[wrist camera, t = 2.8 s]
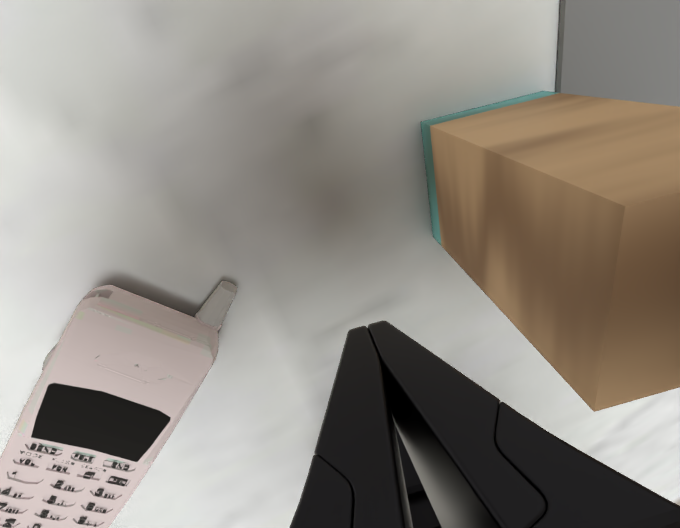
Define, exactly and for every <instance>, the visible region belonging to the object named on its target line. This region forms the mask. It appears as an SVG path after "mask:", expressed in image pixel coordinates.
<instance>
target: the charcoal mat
mask: <svg viewBox="0 0 680 528" xmlns="http://www.w3.org/2000/svg"><path fill="white" fill-rule="evenodd" d="M556 93H564V94H573V95H582V96H591V97H599V98H608V99H617V100H625V101H634V102H643V103H652V104H660V105H669V106H678V107H680V0H560V19H559V38H558V58H557V77H556Z"/></svg>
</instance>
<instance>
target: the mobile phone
mask: <svg viewBox="0 0 680 528" xmlns="http://www.w3.org/2000/svg"><path fill="white" fill-rule="evenodd" d="M236 292H237V287H236V286H235V285H234V284H232V283H230V282H227V281H221V283H220V284H219V285H218V287H217V288H216V289H215V290H214V292H213V293H212V294H211V296H210V297H209V298H208V299H207V301H206V302H205V303H204V305H203V306H202V307H201V309H200V310H199V311H198V312H197V313H196V315H195V316H194V317H192V316H189V315H187V314H184V313H182V312H179V311H177V310H174V309H172V308H169V307H167V306H164V305H161V304H159V303H156V302H154V301H151V300H149V299H146V298H144V297H141V296H138V295H136V294H133V293H131V292H128V291H126V290H123V289H121V288H118V287H116V286H113V285H105V286H100V287H97V288H94V289H92V290H91V291H90V292H89V293H88V294H87V295H86V296H85V297H84V298H83V299H82V301H81V302H80V303H79V304H78V306H77V308H76V309H75V311H74V313H73V315H72V317H71V319H70V321H69V323H68V325H67V327H66V329H65V330H64V332H63V334H62V336H61V338H60V340H59V342H58V343H57V344H56V345H55V347H54V348H53V349H52V350H51V351H50V352H49V354H48V355H47V356H46V358H45V360H44V363H43V369H42V370H43V372H42V374H41V376H40V378H39V380H38V382H37V384H36V386H35V388H34V390H33V391H32V393H31V395H30V397H29V399H28V401H27V403H26V405H25V407H24V408H23V410H22V413H21V415H20V417H19V419H18V422H17V424H16V426H15V428H14V430H13V432H12V434H11V437H10V439H9V441H8V443H7V445H6V447H5V449H4V451H3V453H2V456H1V458H0V528H108V527H109V526H110V525H111V523H112V522H113V520H114V519H115V518H116V516H117V515H118V513H119V512H120V511H121V509H122V508H123V507H124V505H125V504H126V502H127V501H128V500H129V498H130V497H131V495H132V494H133V492H134V491H135V489H136V488H137V486H138V485H139V483H140V482H141V480H142V479H143V477H144V476H145V474H146V473H147V471H148V470H149V468H150V466H151V465H152V463H153V462H154V460H155V459H156V457H157V455H158V454H159V452H160V451H161V449H162V447H163V446H164V444H165V443H166V441H167V440H168V438H169V436H170V435H171V433H172V432H173V430H174V428H175V427H176V425H177V423H178V422H179V420H180V418H181V417H182V415H183V413H184V412H185V410H186V408H187V407H188V405H189V403H190V402H191V400H192V398H193V397H194V395H195V393H196V392H197V390H198V388H199V387H200V385H201V383H202V382H203V380H204V378H205V377H206V375H207V373H208V371H209V370H210V368H211V366H212V365H213V363H214V361H215V359H216V356H217V353H218V341H219V336H218V333H217V332H218V331H219V329H220V328H221V326H222V321H223V320H224V318H225V316H226V314H227V311H228V309H229V307H230V305H231V303H232V301H233V299H234V297H235V295H236Z"/></svg>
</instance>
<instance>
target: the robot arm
mask: <svg viewBox="0 0 680 528" xmlns="http://www.w3.org/2000/svg"><path fill="white" fill-rule="evenodd" d="M290 528H680V506H679V505H677V504H675V503H673V502H671V501H669V500H667V499H665V498H664V497H662V496H660V495H658V494H656V493H655V492H653V491H651V490H649V489H648V488H646V487H644V486H642V485H640V484H639V483H637V482H635V481H633V480H631V479H630V478H628V477H626V476H624V475H623V474H621V473H619V472H617V471H615V470H614V469H612V468H610V467H608V466H606V465H605V464H603V463H601V462H599V461H598V460H596V459H594V458H592V457H590V456H589V455H587V454H585V453H583V452H582V451H580V450H578V449H576V448H575V447H573V446H571V445H569V444H568V443H566V442H564V441H563V440H561V439H559V438H558V437H556V436H554V435H553V434H551V433H549V432H547V431H546V430H544V429H543V428H541V427H540V426H538V425H537V424H535V423H534V422H532V421H530V420H529V419H527V418H526V417H524V416H523V415H521V414H520V413H518V412H517V411H515V410H514V409H513V408H511V407H510V406H508V405H507V404H505V403H504V402H500V400H499V399H498V398H496V397H495V396H494V395H492V394H491V393H489V392H488V391H486V390H485V389H483V388H482V387H481V386H479V385H478V384H476V383H475V382H473V381H472V380H471V379H469V378H468V377H466V376H465V375H463V374H462V373H460V372H459V371H458V370H456V369H455V368H453V367H452V366H450V365H449V364H447V363H446V362H445V361H443V360H442V359H440V358H439V357H437V356H436V355H434V354H433V353H432V352H430V351H429V350H427V349H426V348H424V347H423V346H421V345H420V344H419V343H417V342H416V341H414V340H413V339H411V338H410V337H408V336H407V335H406V334H404V333H403V332H401V331H400V330H398V329H397V328H395V327H394V326H393V325H391V324H390V323H388V322H387V321H380V322H376V323H372V324H369V325H368V328H367V327H366V326H361V327H357V328H354V329H351V330H349V331H348V334H347V338H346V341H345V345H344V348H343V352H342V355H341V359H340V363H339V366H338V370H337V373H336V377H335V380H334V384H333V388H332V391H331V395H330V398H329V402H328V406H327V409H326V413H325V416H324V420H323V423H322V427H321V431H320V434H319V438H318V441H317V445H316V449H315V455H314V456H313V459H312V462H311V466H310V469H309V473H308V476H307V479H306V483H305V486H304V489H303V492H302V495H301V498H300V502H299V504H298V507H297V510H296V512H295V515H294V517H293V520H292V523H291V525H290Z"/></svg>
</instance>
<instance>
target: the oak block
mask: <svg viewBox="0 0 680 528" xmlns="http://www.w3.org/2000/svg"><path fill="white" fill-rule="evenodd" d="M421 129H422V138H423V147H424V157H425V166H426V176H427V185H428V195H429V204H430V214H431V223H432V232H433V237H434V238H435V239H436V240H437V242H438V243H439V244H440V245H441V246H442V247H443V248H444V249H445V250H446V251H447V252H448V254H449V255H450V256H451V257H452V258H453V259H454V260H455V261H456V262H457V263H458V264H459V265H460V267H461V268H462V269H463V270H464V271H465V272H466V273H467V274H468V275H469V276H470V277H471V279H472V280H473V281H474V282H475V283H476V284H477V285H478V286H479V287H480V288H481V289H482V290H483V292H484V293H485V294H486V295H487V296H488V297H489V298H490V299H491V300H492V301H493V302H494V304H495V305H496V306H497V307H498V308H499V309H500V310H501V311H502V312H503V313H504V314H505V315H506V317H507V318H508V319H509V320H510V321H511V322H512V323H513V324H514V325H515V326H516V327H517V329H518V330H519V331H520V332H521V333H522V334H523V335H524V336H525V337H526V338H527V339H528V340H529V342H530V343H531V344H532V345H533V346H534V347H535V348H536V349H537V350H538V351H539V352H540V354H541V355H542V356H543V357H544V358H545V359H546V360H547V361H548V362H549V363H550V364H551V365H552V367H553V368H554V369H555V370H556V371H557V372H558V373H559V374H560V375H561V376H562V377H563V379H564V380H565V381H566V382H567V383H568V384H569V385H570V386H571V387H572V388H573V389H574V390H575V392H576V393H577V394H578V395H579V396H580V397H581V398H582V399H583V400H584V401H585V402H586V404H587V405H588V406H589V407H590V408H591V409H592V410H593V411H594V412H595V411H598V410H602V409H605V408H609V407H612V406H616V405H619V404H623V403H626V402H630V401H633V400H637V399H640V398H644V397H647V396H651V395H654V394H658V393H661V392H665V391H668V390H671V389H675V388H678V387H680V107H678V106H669V105H660V104H652V103H643V102H634V101H625V100H617V99H608V98H599V97H591V96H582V95H573V94H564V93H556V92H547V91H541V92H538V93H534V94H530V95H526V96H522V97H518V98H514V99H510V100H506V101H502V102H498V103H494V104H490V105H486V106H482V107H478V108H474V109H470V110H466V111H462V112H458V113H454V114H450V115H446V116H442V117H438V118H435V119H431V120H427V121H423V122H421Z"/></svg>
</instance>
